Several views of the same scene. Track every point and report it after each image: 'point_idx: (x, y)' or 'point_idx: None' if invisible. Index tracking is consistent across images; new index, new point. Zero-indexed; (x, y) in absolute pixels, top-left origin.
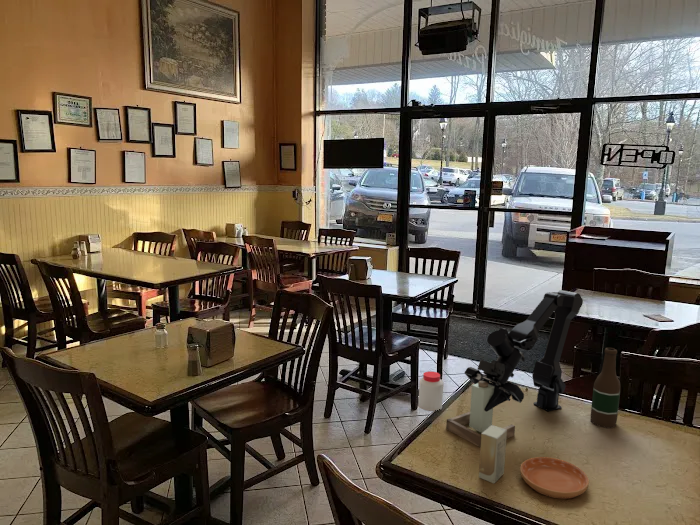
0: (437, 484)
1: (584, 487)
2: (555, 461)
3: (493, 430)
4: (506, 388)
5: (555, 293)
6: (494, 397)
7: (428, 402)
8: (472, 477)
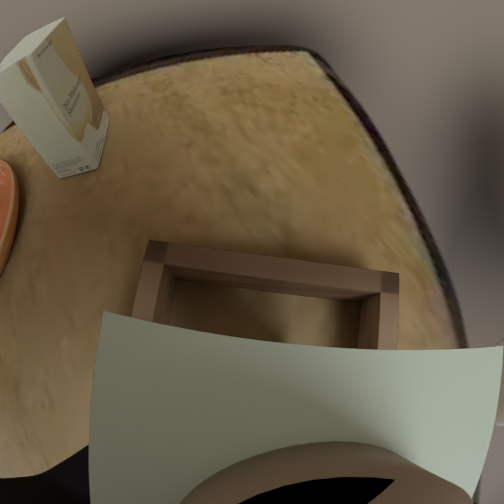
0: (178, 56)
1: None
2: None
3: (27, 43)
4: None
5: None
6: (87, 459)
7: None
8: (123, 110)
